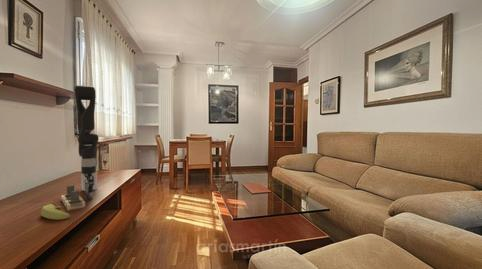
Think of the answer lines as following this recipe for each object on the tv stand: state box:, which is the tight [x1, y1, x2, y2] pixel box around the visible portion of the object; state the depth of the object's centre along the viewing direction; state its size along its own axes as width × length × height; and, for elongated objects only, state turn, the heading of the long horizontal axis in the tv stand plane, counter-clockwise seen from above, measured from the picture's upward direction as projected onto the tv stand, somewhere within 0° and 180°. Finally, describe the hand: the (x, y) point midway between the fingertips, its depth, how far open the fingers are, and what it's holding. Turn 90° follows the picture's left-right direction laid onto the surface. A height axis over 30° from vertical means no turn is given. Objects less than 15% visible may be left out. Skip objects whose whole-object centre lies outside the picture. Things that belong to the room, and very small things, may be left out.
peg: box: [85, 183, 94, 202], centre depth 137 cm, size 4×4×10 cm
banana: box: [40, 203, 71, 221], centre depth 116 cm, size 14×6×20 cm
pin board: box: [61, 184, 86, 212], centre depth 131 cm, size 23×8×9 cm, turn 46°
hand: (88, 191), depth 137 cm, fingers open, 8 cm apart
